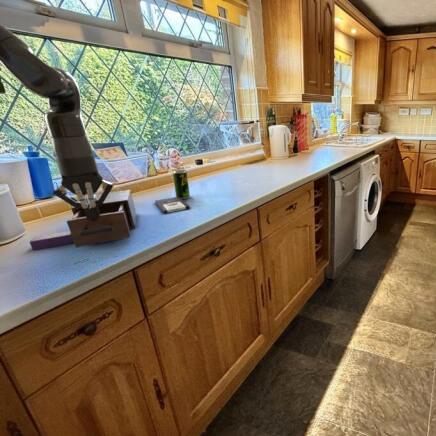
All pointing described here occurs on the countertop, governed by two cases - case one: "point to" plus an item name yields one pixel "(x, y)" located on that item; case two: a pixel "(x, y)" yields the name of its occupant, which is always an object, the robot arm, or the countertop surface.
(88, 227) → the drawer
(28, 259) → the countertop surface
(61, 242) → the purple rectangular block
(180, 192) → the beer can
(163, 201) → the chocolate bar
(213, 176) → the countertop surface
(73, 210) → the cabinet
